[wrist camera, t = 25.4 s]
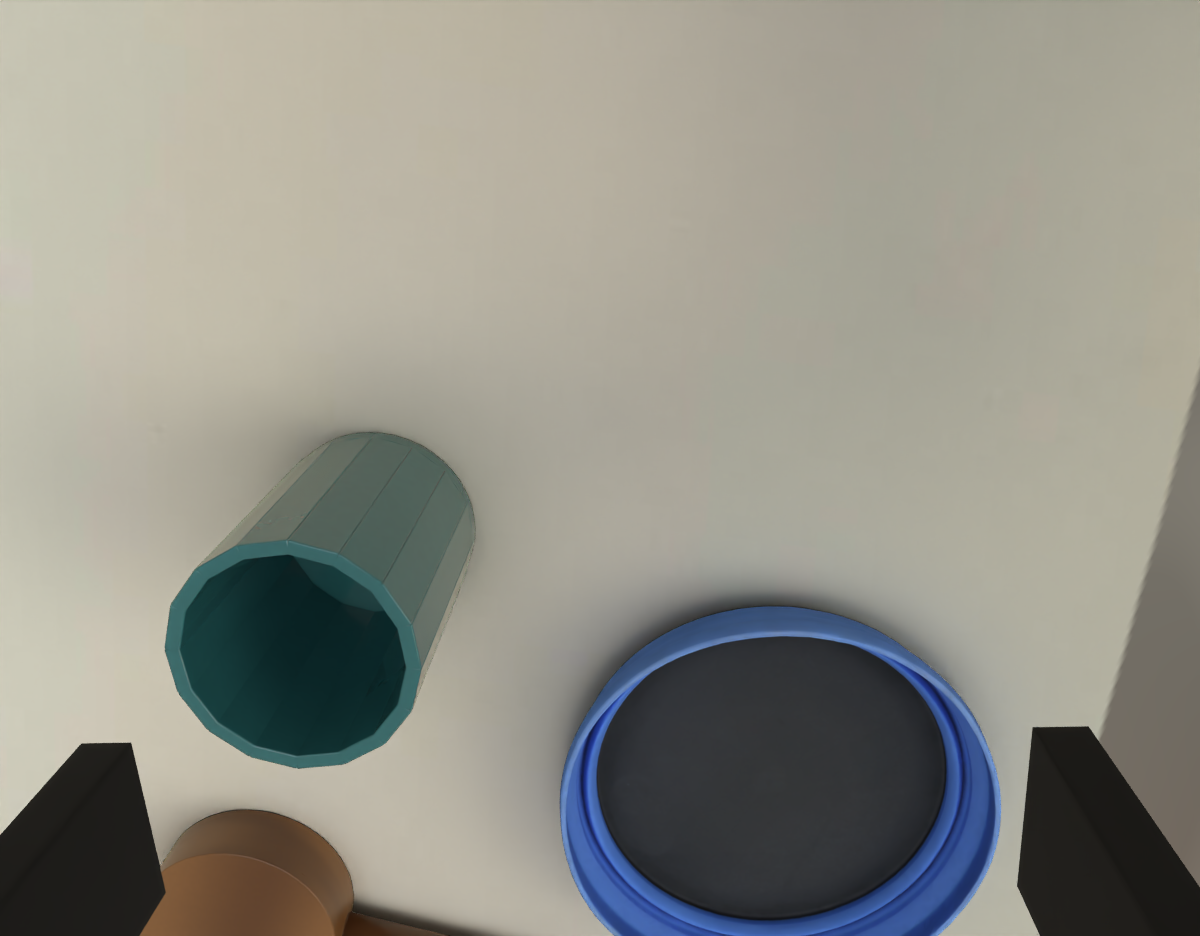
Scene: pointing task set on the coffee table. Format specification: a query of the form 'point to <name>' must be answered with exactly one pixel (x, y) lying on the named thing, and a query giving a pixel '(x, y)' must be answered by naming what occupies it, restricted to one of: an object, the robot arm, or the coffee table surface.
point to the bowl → (778, 785)
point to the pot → (325, 603)
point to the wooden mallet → (259, 883)
